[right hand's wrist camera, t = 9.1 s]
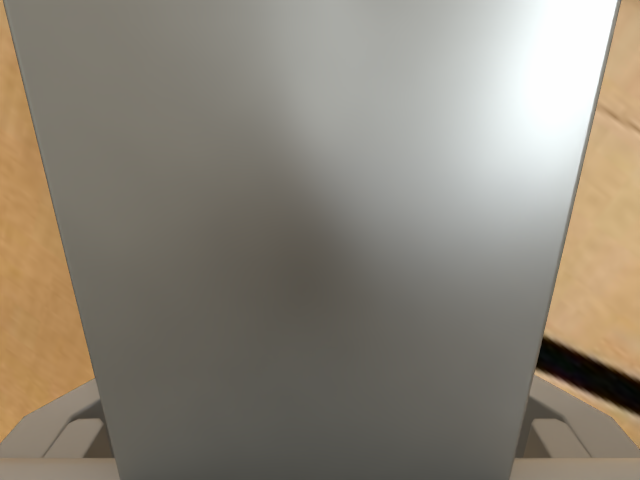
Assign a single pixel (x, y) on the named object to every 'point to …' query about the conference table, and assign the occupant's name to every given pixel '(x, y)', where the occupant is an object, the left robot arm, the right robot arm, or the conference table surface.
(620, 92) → the conference table surface
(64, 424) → the right robot arm
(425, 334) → the bar
